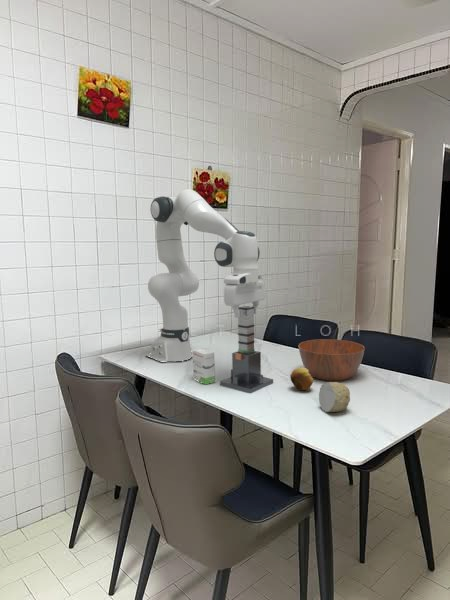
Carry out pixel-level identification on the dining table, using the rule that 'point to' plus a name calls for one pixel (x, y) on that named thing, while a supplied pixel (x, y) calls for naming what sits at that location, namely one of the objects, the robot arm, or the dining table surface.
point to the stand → (246, 373)
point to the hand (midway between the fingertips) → (245, 315)
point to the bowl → (331, 358)
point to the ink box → (203, 366)
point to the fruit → (301, 378)
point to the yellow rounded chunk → (334, 397)
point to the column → (246, 330)
